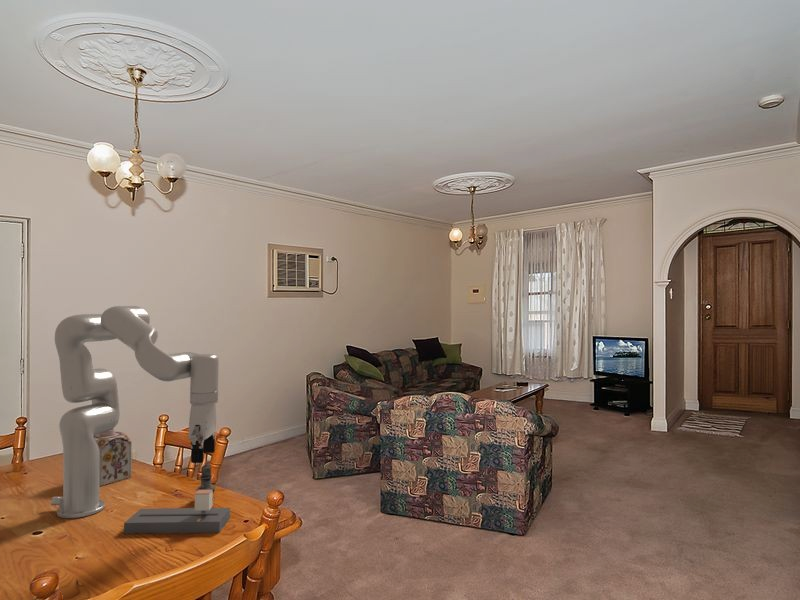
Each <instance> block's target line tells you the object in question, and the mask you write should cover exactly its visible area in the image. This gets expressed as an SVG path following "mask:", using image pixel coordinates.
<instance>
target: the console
mask: <svg viewBox="0 0 800 600" xmlns="http://www.w3.org/2000/svg"><path fill="white" fill-rule="evenodd" d="M230 518H231V507H212V508H211V509H210V510H207V513H206V514H202V515H201V510H199V511H195V507H181V508H180V507H179V508H178V507H175V508H171V507H170V508H168V507H167V508H165V507H164V508H140V509H139V510H138V511H137V512H135V513H134V514H132V516H131V517H129V518H128V519H126V521H124V522H123V534H124V535H132V534H134V533H154V534H206V533H208V534H210V533H211V534H215V533H217V534H218V533H221V531H223V528H224V527H225V526H226V524H227V523H228V522H229V520H231V519H230ZM128 533H129V534H128ZM134 535H135V534H134Z"/></svg>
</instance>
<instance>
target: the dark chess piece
mask: <svg viewBox="0 0 800 600" xmlns="http://www.w3.org/2000/svg"><path fill="white" fill-rule="evenodd" d="M200 470H201V472H200V473H201V476H200V477H199V478H200V486H199V487H197V488H196V492H197V491H198V490H213V494H214V493H215V489H216V486H215V485H212V477H213V476H212V473H211V472H212V468H211V465H209V464H208V462H204V465H203V466H201V469H200Z"/></svg>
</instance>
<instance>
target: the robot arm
mask: <svg viewBox="0 0 800 600" xmlns="http://www.w3.org/2000/svg"><path fill="white" fill-rule="evenodd" d="M150 322H151V319H150V315H149V313H148V311H147V310H145V309H144V308H143V307H141V306H137V305H116V306H111V307H109V308H107V309H105V310H104V311H103V312H102V313H99V314H98V313H97V314H96V313H94V314H93V313H88V314H87V313H84V314H82V313H81V314H75V315H71V316H68V317H65V318H63V320H61V321H59V323H58V325H57V326H56V328H55V332H54V345H55V347H56V352H57V354H58V360H59V371H60V383H61V390H62V395H63V398H64V400H65V401H66V402H67V403H68V402H69V403H73V404H77V403H84V402H88V401H91V404H88V405H82V406H78V407H75V408H72V409H70V410H68V411H66V412H65V413H64V414H63V415H62V416H61V418H60V420H59V424H58V427H59V432H60V436H61V441H62V454H63V455H62V458H63V459H62V460H63V461H62V463H63V465H62V467H63V470H62V473H63V476H62V477H63V480H62V487H63V489H62V490H63V491H62V494H63V495H62V496H52V497H51V500H50V505H51V506H59V508H58V509H57V510H56V516H57V517H59V518H63V519H77V518H82V517H87V516H91V515H94V514H96V513H99V512H101V511H102V510H104V508H105V507H106V502H105V501H104V500H102V499H100V486H99V479H100V453H99V447H98V444H97V443H96V441H95V439H94V437H93V436H94V435H96V434H100V433H103V432H106V431H109V430H111V429H113V428H114V429H115V428H116V426H118V424H119V421H120V418H121V417H120V414H121V413H120V403H119V393H118V392H119V391H118V390H119V389H118V384H117V383H118V382H117V380H116V377H115V375H114V374H113V373H112V372H111V371H110V370H108V369H107V368H101V367H99V368H94V367H93V358H92V354H91V352H90V350H89V349H88V347H87V346H86V344H85V343H91V342H103V341H104V342H105V341H113V340H119V341H120V342H121V343H123V344H124V345H125V346H126V347H129V349H131V350H132V351H134V357H135V359H136V361H137V363H138V365H139V366H140V367H141V369H143V370H144V371H145V372H146V373H148V374H150V375H151V376H152V377H154V378H155V379H157V380H159V381H162V382H174V381H178V380H182V379H188V378H189V379H190V384H189V385H190V386H189V404H190V405H191V406H190V409H189V410H190V411H189V418H188V432H187V433H188V435H187V436H188V437H187V438H188V440H190V444H191V445H190V450H191V451H190V452H191V454H190V463H192V464H202V463H203V462H204V454H212V453H215V452H216V449H215V448H216V445H215V444H216V442H215V441H216V434H215V432H216V427H217V407H216V405H217V403H218V402H219V357H218V356H217V355H216V354H213V353H212V354H211V353H201V354H200V353H196V352H192V351H191V352H190V351H189V352H188V351H186V352H185V351H184V352H177V353H170V354H168V353H165V352H164V351H162V350H161V349H160V348H159V347H157V346H156V345H155V343H156V342H157V340H158V337H159V336H158V335H159V334H158V333H159V332H158V330H157V329H156V328H155V327H153V326H152V325H151V324H150Z"/></svg>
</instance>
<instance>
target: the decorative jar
mask: <svg viewBox="0 0 800 600" xmlns="http://www.w3.org/2000/svg"><path fill="white" fill-rule="evenodd" d="M93 437H94V439H95V441H96V443H97V444H98V447H99V453H100V479H99V487H103V485H104V486H106V484H107V485H110V484H113V483H116V481H117V482H120V481H123V479H124V480H127V479H130V477H131V478H132V475H133V473H132V469H133V465H132V464H133V461H132V460H133V457H132V456H133V455H132V454H133V453H132V451H133V450H132V449H133V448H132V442H133V441H132V440H131V439H130V437H129V436H128V434H127V433H125V432H122V431H116V430H115V427H114V428H113V429H111V430H109V431H106V432H103V433H100V434H96V435H94V436H93ZM126 478H127V479H126ZM119 480H120V481H119ZM112 482H113V483H112ZM109 483H110V484H109Z"/></svg>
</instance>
